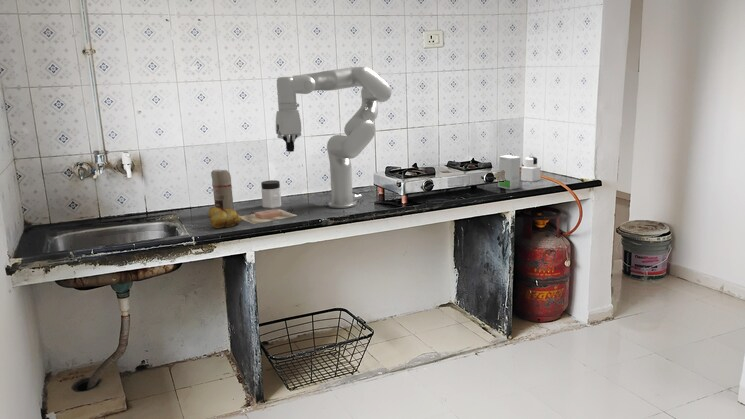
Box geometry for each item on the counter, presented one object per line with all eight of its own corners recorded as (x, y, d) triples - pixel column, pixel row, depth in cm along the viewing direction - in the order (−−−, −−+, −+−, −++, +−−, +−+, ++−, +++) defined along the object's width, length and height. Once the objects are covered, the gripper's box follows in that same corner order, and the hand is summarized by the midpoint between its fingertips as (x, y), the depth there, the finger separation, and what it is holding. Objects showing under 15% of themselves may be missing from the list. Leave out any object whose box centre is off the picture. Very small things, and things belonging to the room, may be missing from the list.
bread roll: (241, 221, 256) (239, 202, 254) (244, 227, 247) (242, 207, 245) (209, 225, 252) (207, 206, 250) (211, 230, 243) (209, 211, 241)
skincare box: (498, 187, 305) (498, 156, 302) (507, 185, 309) (507, 154, 305) (511, 189, 299) (511, 157, 295) (520, 187, 302) (520, 156, 299)
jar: (266, 211, 272) (264, 184, 270) (259, 208, 279) (257, 182, 276) (285, 208, 277) (283, 181, 274) (277, 205, 284) (275, 179, 281)
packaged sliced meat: (279, 211, 270) (279, 209, 270) (297, 218, 258) (297, 215, 257) (237, 219, 259) (236, 216, 259) (253, 226, 246) (253, 224, 246)
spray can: (211, 214, 270) (207, 169, 265) (228, 211, 275) (224, 166, 270) (220, 217, 264) (216, 171, 259) (237, 214, 269) (233, 168, 264)
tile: (273, 209, 263) (254, 212, 258) (281, 211, 258) (261, 215, 253) (274, 212, 264) (254, 216, 259) (281, 215, 258) (262, 219, 253)
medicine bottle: (529, 178, 325) (529, 155, 322) (540, 180, 320) (541, 157, 317) (520, 180, 321) (521, 157, 318) (532, 182, 315) (532, 158, 313)
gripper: (298, 105, 262) (301, 148, 267) (267, 108, 254) (270, 152, 258) (307, 106, 257) (310, 150, 261) (275, 108, 248) (278, 154, 252)
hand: (290, 151), depth 259 cm, fingers closed
